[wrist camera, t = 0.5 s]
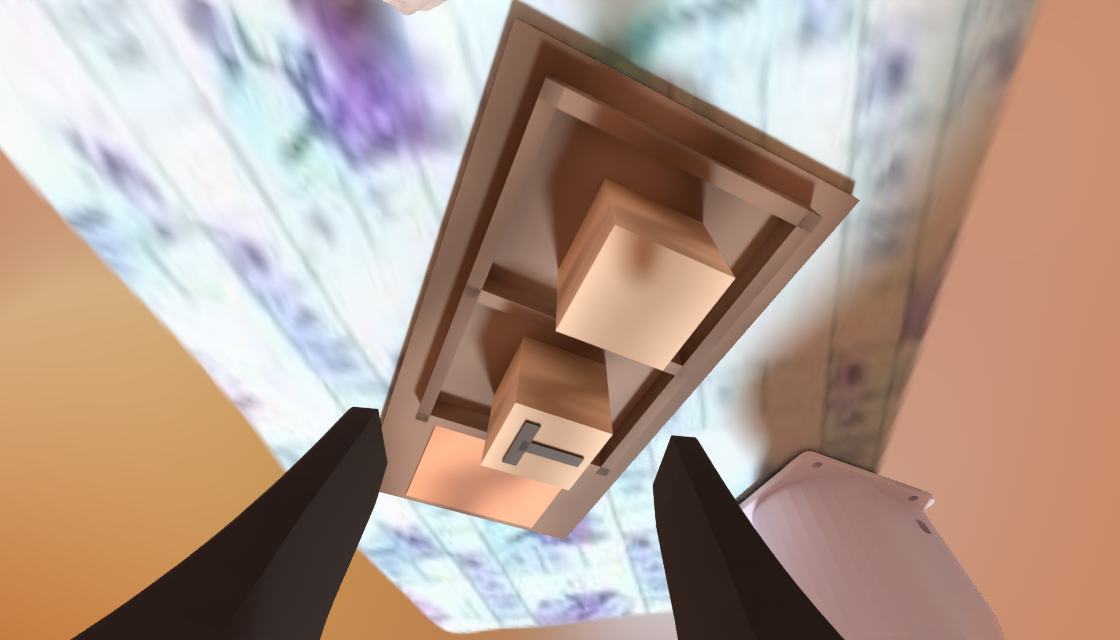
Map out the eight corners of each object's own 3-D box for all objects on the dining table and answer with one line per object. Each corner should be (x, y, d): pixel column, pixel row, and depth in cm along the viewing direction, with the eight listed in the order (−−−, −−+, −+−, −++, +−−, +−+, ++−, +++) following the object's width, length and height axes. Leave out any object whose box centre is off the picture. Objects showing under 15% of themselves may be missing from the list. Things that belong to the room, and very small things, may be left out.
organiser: (852, 195, 16) (875, 211, 15) (564, 532, 30) (564, 555, 28) (516, 17, 13) (511, 19, 12) (365, 479, 27) (355, 502, 26)
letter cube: (606, 365, 21) (612, 436, 17) (569, 419, 23) (568, 492, 19) (524, 335, 20) (515, 404, 16) (493, 395, 22) (480, 467, 18)
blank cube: (702, 222, 16) (735, 278, 13) (646, 305, 19) (662, 370, 15) (605, 177, 16) (615, 224, 12) (558, 269, 18) (555, 330, 14)
